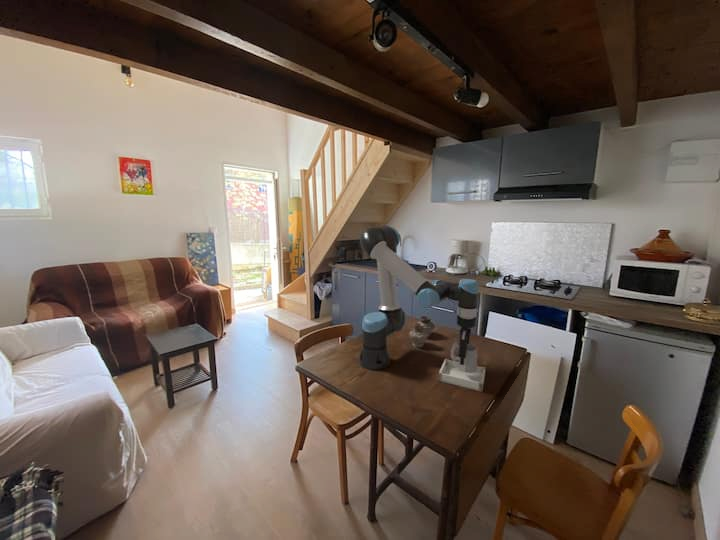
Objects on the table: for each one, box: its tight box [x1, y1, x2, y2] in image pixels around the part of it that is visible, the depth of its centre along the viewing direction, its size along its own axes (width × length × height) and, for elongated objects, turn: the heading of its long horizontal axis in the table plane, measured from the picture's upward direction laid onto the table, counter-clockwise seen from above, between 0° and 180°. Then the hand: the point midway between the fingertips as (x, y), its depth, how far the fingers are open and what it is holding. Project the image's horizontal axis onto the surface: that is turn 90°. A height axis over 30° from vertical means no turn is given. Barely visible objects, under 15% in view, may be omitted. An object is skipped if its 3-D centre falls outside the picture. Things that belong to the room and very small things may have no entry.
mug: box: [450, 337, 479, 373], centre depth 126 cm, size 8×12×12 cm, turn 49°
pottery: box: [408, 315, 436, 348], centre depth 165 cm, size 11×25×12 cm, turn 154°
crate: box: [437, 358, 486, 393], centre depth 128 cm, size 18×14×4 cm
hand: (463, 366), depth 127 cm, fingers closed on mug, 7 cm apart
